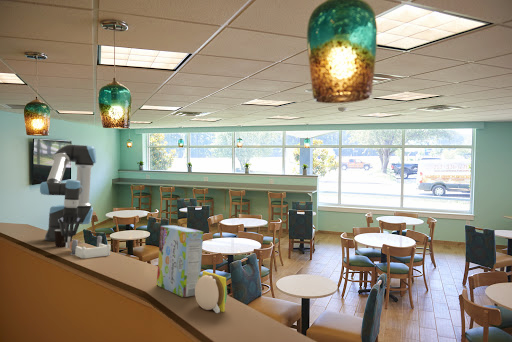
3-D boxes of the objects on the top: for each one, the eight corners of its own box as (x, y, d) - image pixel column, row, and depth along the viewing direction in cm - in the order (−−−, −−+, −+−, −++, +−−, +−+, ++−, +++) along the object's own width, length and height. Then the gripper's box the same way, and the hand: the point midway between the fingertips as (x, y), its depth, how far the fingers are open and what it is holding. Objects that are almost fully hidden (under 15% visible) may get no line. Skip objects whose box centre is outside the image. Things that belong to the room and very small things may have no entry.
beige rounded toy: (189, 306, 135) (191, 273, 135) (206, 301, 141) (208, 270, 142) (211, 315, 127) (213, 280, 127) (228, 310, 133) (230, 276, 134)
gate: (77, 252, 208) (78, 240, 209) (71, 253, 207) (72, 240, 207) (73, 248, 219) (73, 236, 219) (68, 248, 218) (68, 236, 218)
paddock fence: (68, 254, 209) (69, 238, 209) (98, 250, 221) (99, 235, 222) (79, 258, 198) (80, 242, 199) (110, 255, 211) (111, 239, 211)
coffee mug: (57, 248, 223) (58, 231, 223) (50, 246, 228) (51, 229, 228) (76, 246, 232) (77, 230, 232) (69, 244, 237) (70, 228, 237)
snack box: (201, 294, 149) (204, 230, 150) (182, 298, 143) (186, 232, 144) (173, 282, 165) (176, 224, 165) (155, 285, 159) (158, 225, 159)
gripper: (61, 207, 206) (57, 249, 206) (85, 207, 216) (81, 248, 215) (56, 206, 212) (53, 247, 211) (79, 206, 221) (76, 246, 220)
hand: (67, 247), depth 213 cm, fingers closed
